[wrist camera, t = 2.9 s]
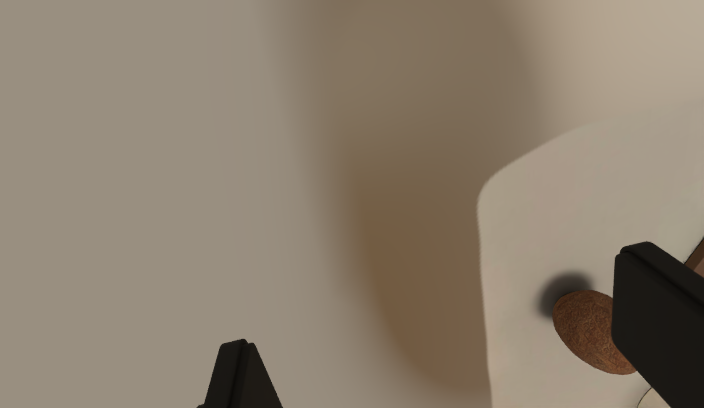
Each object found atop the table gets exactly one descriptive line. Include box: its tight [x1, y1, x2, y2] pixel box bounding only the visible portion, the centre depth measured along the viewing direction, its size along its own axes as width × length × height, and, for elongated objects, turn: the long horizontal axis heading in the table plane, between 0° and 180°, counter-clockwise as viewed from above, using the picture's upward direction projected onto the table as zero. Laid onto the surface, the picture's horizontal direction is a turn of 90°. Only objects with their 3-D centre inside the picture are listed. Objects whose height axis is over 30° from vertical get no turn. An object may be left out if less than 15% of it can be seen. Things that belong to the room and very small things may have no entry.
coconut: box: [552, 290, 637, 375], centre depth 33 cm, size 5×5×8 cm
